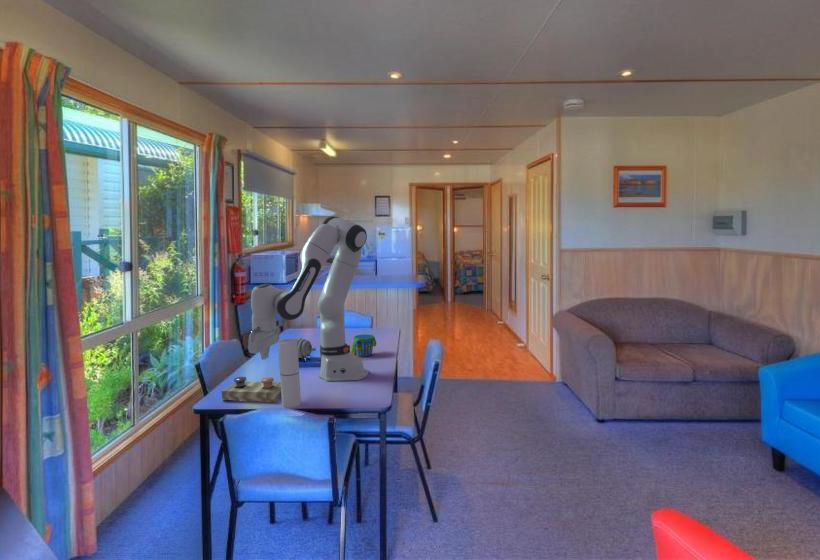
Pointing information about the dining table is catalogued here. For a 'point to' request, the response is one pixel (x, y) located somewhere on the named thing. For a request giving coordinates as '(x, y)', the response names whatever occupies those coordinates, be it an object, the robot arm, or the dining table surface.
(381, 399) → the dining table surface
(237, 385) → the charcoal button
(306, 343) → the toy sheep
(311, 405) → the dining table surface
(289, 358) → the cylindrical container
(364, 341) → the snack cup
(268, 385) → the terracotta button
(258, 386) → the button panel
